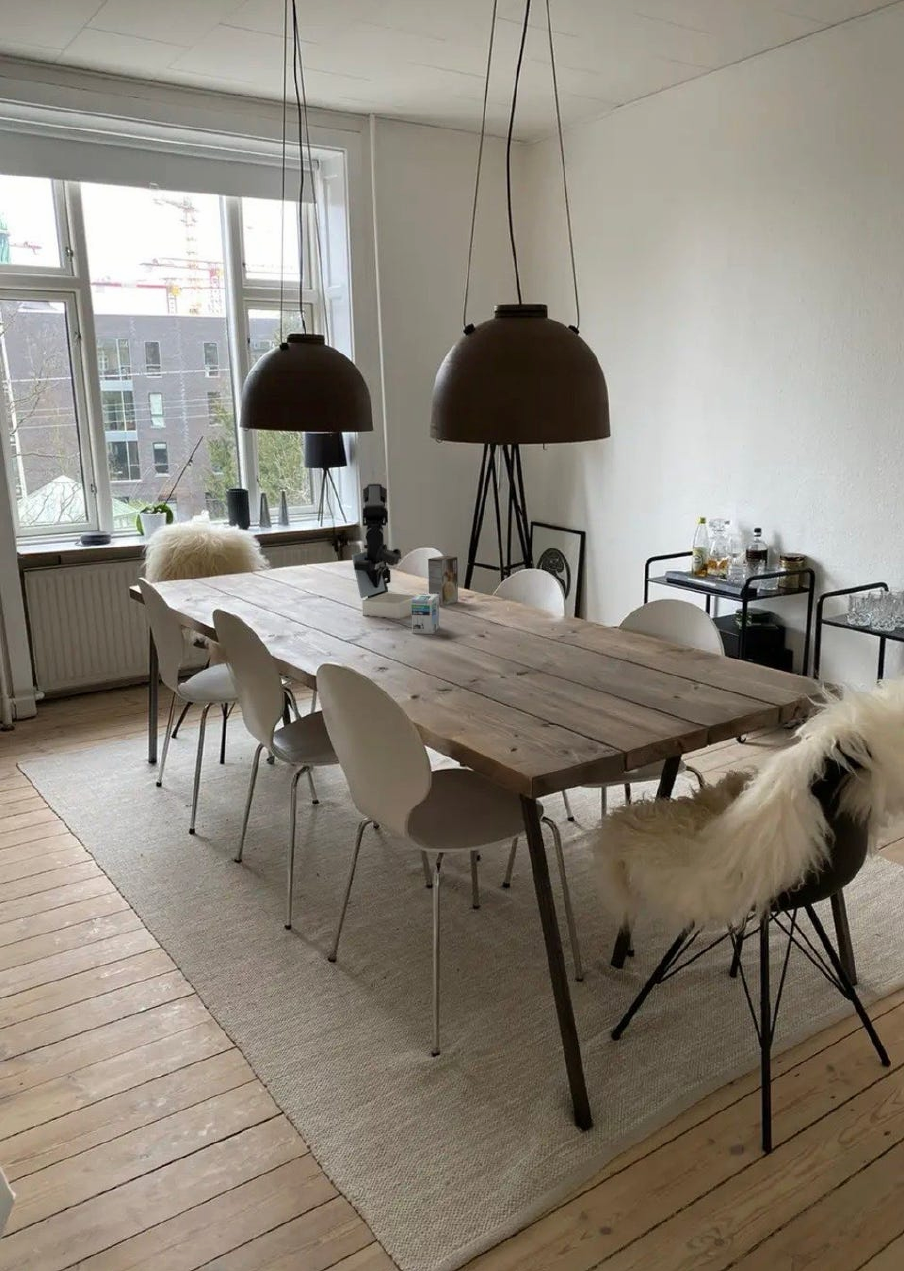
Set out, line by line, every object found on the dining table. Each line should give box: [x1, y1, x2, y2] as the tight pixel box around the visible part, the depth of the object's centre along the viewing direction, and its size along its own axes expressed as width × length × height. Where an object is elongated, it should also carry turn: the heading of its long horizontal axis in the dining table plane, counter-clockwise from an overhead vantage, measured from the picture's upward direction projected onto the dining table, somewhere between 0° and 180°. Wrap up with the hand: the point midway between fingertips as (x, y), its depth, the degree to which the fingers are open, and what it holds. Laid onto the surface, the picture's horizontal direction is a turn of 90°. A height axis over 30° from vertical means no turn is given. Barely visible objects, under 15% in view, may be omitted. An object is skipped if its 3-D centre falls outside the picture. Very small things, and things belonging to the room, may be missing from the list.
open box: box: [361, 591, 418, 620], centre depth 331 cm, size 14×16×5 cm
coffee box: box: [427, 555, 459, 607], centre depth 345 cm, size 9×6×16 cm
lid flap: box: [351, 550, 385, 599], centre depth 332 cm, size 15×15×1 cm
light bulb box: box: [411, 592, 440, 635], centre depth 305 cm, size 11×7×11 cm, turn 168°
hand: (376, 587), depth 332 cm, fingers closed
